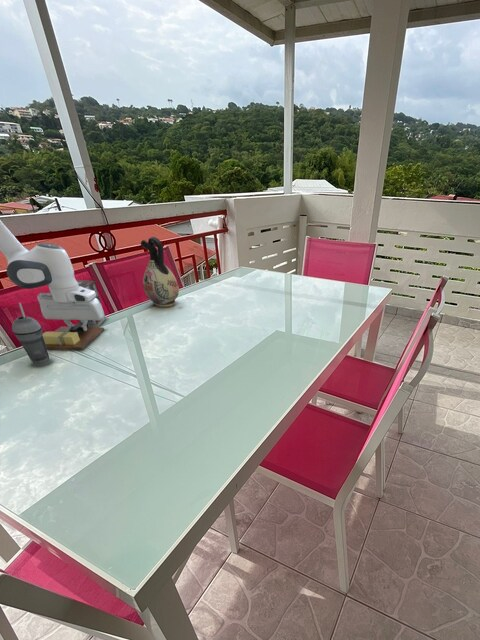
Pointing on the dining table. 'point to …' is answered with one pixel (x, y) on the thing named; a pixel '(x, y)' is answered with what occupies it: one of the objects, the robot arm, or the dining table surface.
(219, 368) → the dining table surface
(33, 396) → the dining table surface
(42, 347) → the beverage cup
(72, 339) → the butter slice
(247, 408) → the dining table surface
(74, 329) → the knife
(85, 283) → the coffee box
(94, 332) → the cutting board
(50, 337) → the butter block
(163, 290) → the ceramic jug
